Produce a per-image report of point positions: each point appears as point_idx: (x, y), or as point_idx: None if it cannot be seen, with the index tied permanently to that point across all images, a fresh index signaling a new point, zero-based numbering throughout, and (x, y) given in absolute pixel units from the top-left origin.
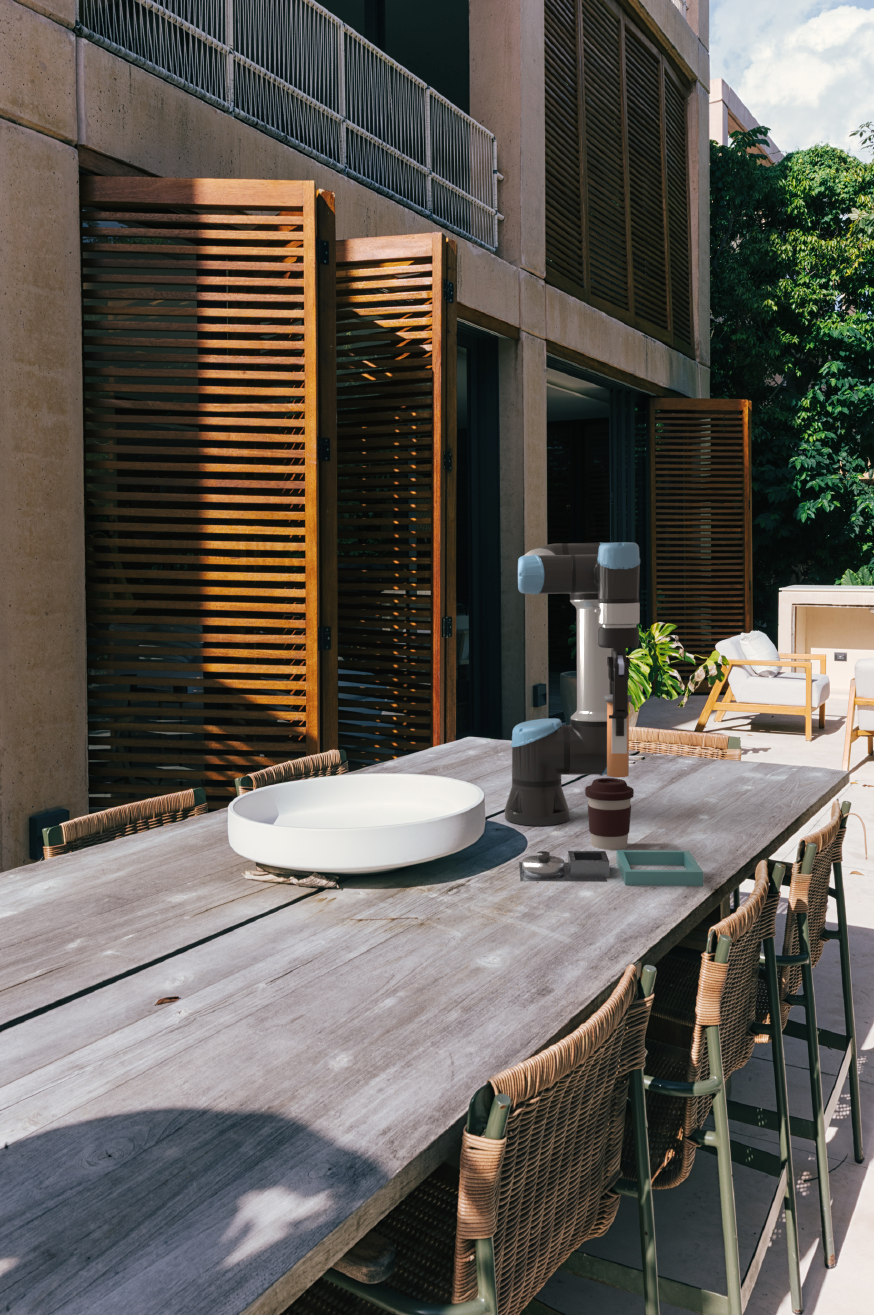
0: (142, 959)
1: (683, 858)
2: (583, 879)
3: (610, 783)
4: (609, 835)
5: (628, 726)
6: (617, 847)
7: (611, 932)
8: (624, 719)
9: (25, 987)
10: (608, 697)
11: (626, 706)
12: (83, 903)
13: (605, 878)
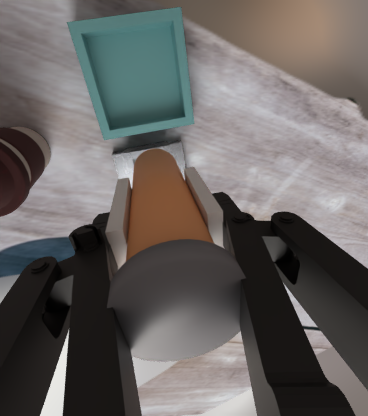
0: (308, 332)
1: (83, 35)
2: (179, 167)
3: None
4: (43, 154)
5: (174, 193)
6: (40, 140)
7: (295, 127)
8: (221, 217)
9: (329, 345)
10: (228, 336)
11: (319, 238)
12: (241, 378)
13: (172, 145)
